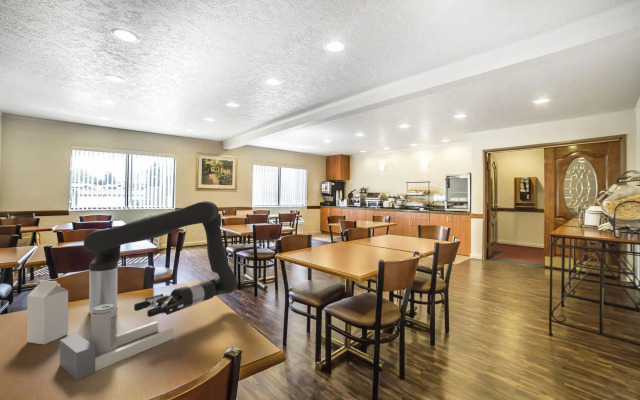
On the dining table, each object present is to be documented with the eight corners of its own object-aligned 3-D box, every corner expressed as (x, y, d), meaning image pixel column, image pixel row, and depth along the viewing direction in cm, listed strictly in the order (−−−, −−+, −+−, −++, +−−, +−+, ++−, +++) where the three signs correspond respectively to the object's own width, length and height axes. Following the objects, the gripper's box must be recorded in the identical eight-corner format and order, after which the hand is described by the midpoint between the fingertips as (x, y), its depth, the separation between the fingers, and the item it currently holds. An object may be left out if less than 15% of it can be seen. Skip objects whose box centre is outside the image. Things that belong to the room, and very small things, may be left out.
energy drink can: (94, 354, 86) (94, 304, 85) (118, 350, 88) (118, 301, 88) (87, 365, 80) (87, 312, 80) (113, 360, 83) (113, 308, 82)
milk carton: (44, 345, 91) (44, 285, 90) (26, 342, 92) (27, 283, 92) (68, 334, 98) (68, 278, 97) (51, 332, 99) (51, 277, 99)
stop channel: (60, 364, 80) (60, 339, 80) (155, 329, 102) (155, 309, 102) (76, 380, 74) (76, 352, 74) (174, 338, 96) (174, 317, 96)
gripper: (177, 282, 110) (130, 294, 96) (199, 289, 102) (152, 303, 89) (176, 302, 110) (130, 317, 96) (199, 310, 102) (152, 328, 89)
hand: (141, 310), depth 93 cm, fingers open, 8 cm apart
